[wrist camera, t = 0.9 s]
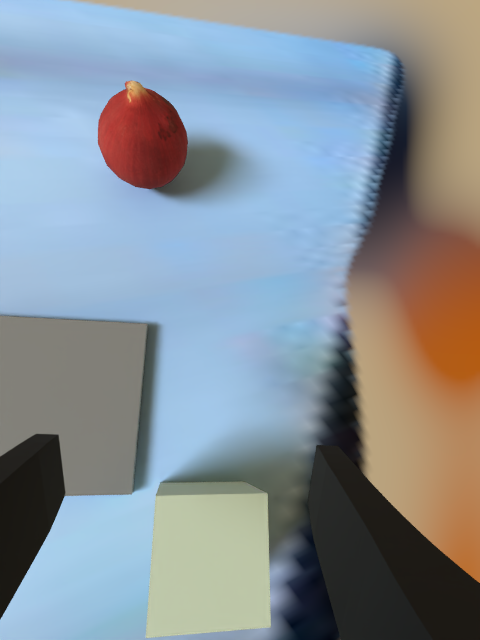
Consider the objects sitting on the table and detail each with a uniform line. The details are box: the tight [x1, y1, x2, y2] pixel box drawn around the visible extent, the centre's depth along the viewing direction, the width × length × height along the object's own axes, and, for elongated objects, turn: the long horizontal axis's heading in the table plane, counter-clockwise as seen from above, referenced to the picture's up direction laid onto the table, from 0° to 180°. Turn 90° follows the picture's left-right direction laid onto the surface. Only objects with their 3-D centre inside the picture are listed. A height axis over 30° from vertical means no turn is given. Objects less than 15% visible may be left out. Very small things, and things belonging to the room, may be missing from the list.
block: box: [146, 481, 271, 638], centre depth 18 cm, size 5×5×6 cm
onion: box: [98, 81, 188, 189], centre depth 24 cm, size 6×6×8 cm
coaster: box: [0, 316, 148, 496], centre depth 21 cm, size 10×10×1 cm
